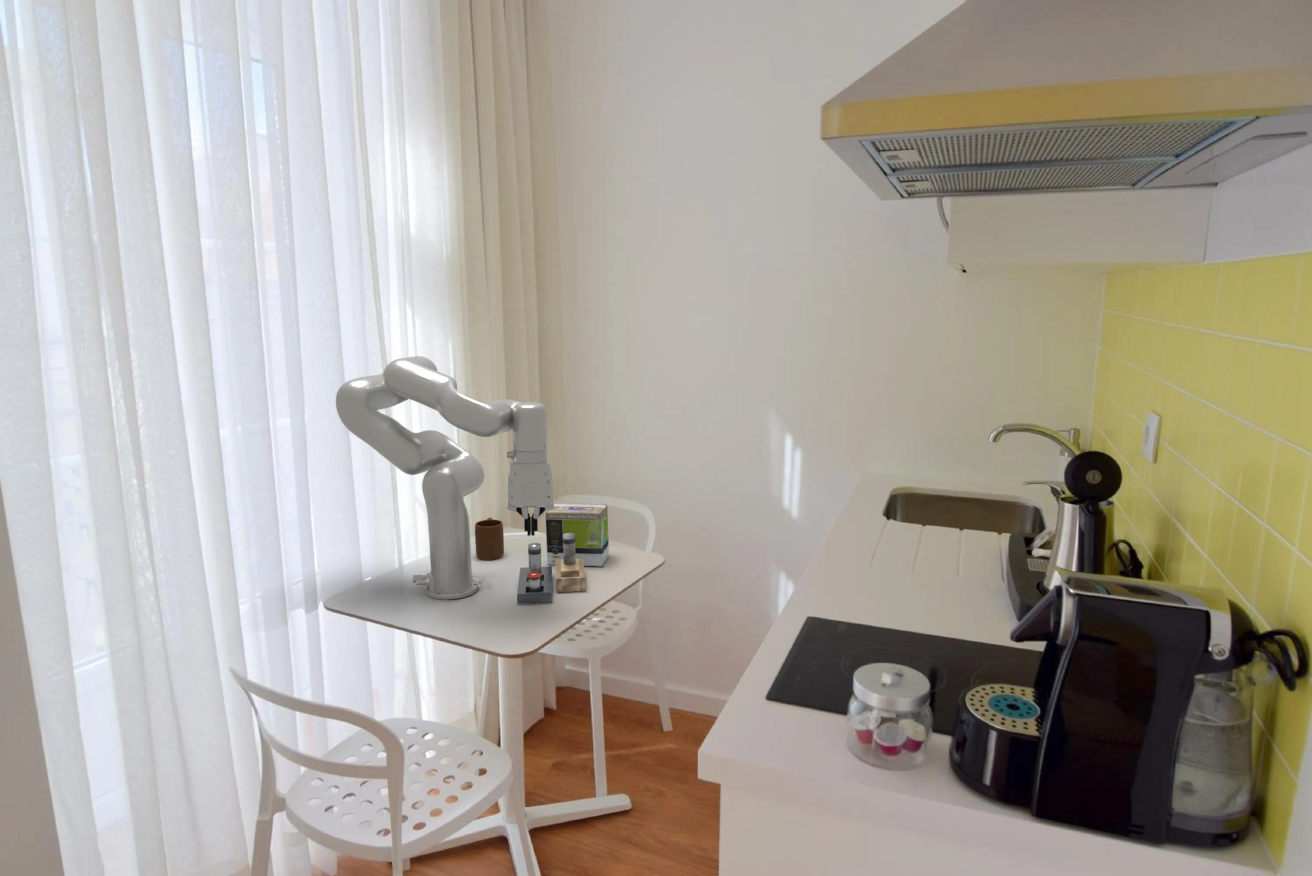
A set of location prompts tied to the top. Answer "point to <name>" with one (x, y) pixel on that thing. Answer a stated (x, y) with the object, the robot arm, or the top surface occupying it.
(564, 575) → the rack
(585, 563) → the tea box
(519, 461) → the robot arm
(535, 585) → the red topped peg
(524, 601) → the socket block
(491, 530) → the mug
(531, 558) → the grey metal cylinder
